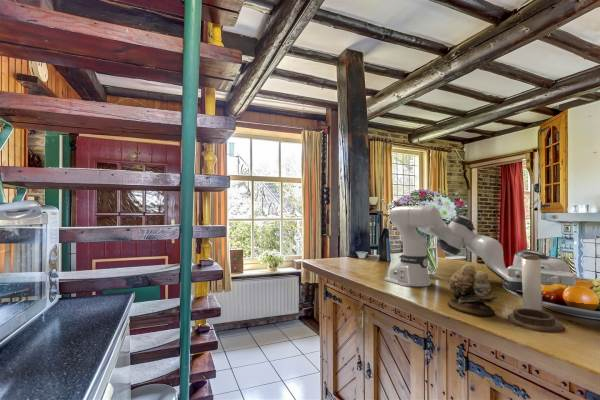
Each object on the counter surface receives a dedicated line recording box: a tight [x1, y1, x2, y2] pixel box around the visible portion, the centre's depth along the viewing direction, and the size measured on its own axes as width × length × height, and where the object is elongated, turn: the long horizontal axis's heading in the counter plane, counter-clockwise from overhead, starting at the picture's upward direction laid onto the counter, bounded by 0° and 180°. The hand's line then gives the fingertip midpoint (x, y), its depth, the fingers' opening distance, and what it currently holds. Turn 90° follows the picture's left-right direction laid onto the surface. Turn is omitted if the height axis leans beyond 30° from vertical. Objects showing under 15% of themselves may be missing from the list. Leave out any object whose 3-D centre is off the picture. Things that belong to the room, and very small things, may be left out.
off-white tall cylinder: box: [521, 255, 543, 311], centre depth 108 cm, size 6×6×20 cm
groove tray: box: [507, 307, 563, 333], centre depth 98 cm, size 14×14×3 cm
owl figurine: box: [447, 263, 498, 318], centre depth 111 cm, size 18×12×17 cm, turn 25°
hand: (532, 278), depth 108 cm, fingers open, 8 cm apart
